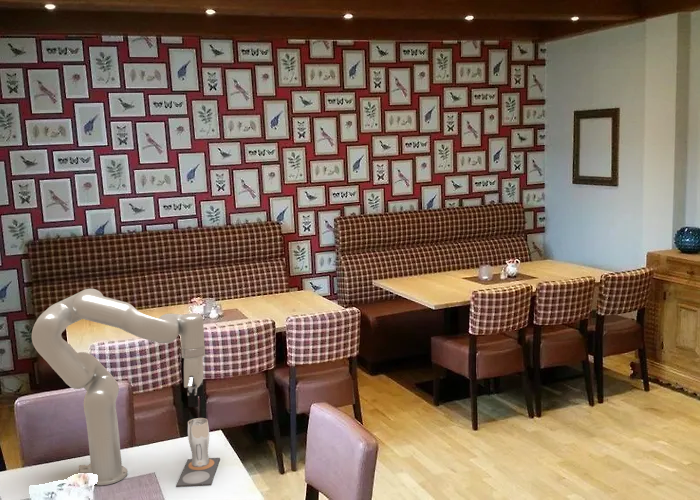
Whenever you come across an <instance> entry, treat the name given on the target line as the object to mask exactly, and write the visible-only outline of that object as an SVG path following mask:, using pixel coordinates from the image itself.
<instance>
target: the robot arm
mask: <svg viewBox="0 0 700 500" xmlns="http://www.w3.org/2000/svg"><path fill="white" fill-rule="evenodd" d="M82 320H85V321H89V322H93V323H97V324H101V325H105V326H109V327H113V328H117V329H120V330H123V332H126V333H128V334H131V335H133V336H136V337H138V338H141V339H143V340H144V339H145V340H147V341H151V342H156V343H159V344H169V343H172V342H174V341H175V340H176V339H177V338H178V337H180V348H181V350H180V351H181V358H182V359H183V387H184V388H185V389H187V407H188V408H198V407H199V397H204V384H203V383H204V382H203V381H204V361H203V357H205V356H206V348H205V347H206V346H205V330H204V329H205V327H204V317H203V316H202V315H201V314H200V313H197V312H196V313H193V312H192V313H185V314H178V313H165V314H162V315H161V316H160V317H158V318H157V317H154V316H151V315H147V314H144V312H141V311H139V310H138V309H136V307H134V306H133V305H132V304H131V303H129V302H126V301H123V300H119V299H114V298H111V297H107V296H104V295H103V293H102V292H101V291H100V290H98V289H95V288H85V289H83V290H81V291H79V292H77V293H75V294H73V295H71V296H69V297H66V298H64V299H62V300H60V301H58V302H56V303H54V304H52V305H50V306H49V307H47V309H46V310H44V311H43V312H42V313H41V314H39V316H38V317H37V319H36V321H35V323H34V325H33V327H32V331H31V341H32V345H33V348H35V350H36V352H37V353H38V355H40V356H41V357H42V358H43V360H45V362H47V364H48V365H49V366H50V367H51V369H52V370H54V372H55V373H56V374H57V375H58V376H59V378H61V379H62V380H63V382H64V383H65V384H66V385H67V386H69V387H70V388H71V389H74V390H81V389H84V390H85V395H84V399H83V411H84V416H85V422H86V431H87V439H88V449H89V450H88V451H89V460H90V463H89V464H79V465H78V472H79V473H84V474H87V473H93V474H97V475H98V482H97V485H96V486H107V485H112V484H115V483H118V482H120V481H122V480H124V479H125V478H126V477H127V476H128V469H127V468H126V467H125V466H123V464H122V454H121V444H120V443H121V442H120V441H121V440H120V431H119V423H118V414H117V406H116V402H117V398H118V395H119V392H120V387H119V384H118V383H119V382H117V380H116V379H115V378H114V376H113V375H112V374H111V373H110V372H109V371H108V370H107V368H105V366H104V365H103V364H102V363H101V361H100V360H98V359H97V358H96V356H94V355H93V354H91V353H88V352H83V351H81V352H77V351H76V350H75V349H74V348H73V346H72V345H71V344H70V343H69V342H67V341H66V340H65V339H64V338H63V336H62V333H63V332H65V330H66V329H67V328H68V327H69V326H71V325H72V324H75V323H77V322H78V321H82ZM179 335H180V336H179Z"/></svg>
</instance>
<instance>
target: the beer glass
mask: <svg viewBox="0 0 700 500" xmlns="http://www.w3.org/2000/svg"><path fill="white" fill-rule="evenodd" d="M187 437H188V438H187V439H188V443H189V447H190V451H191V459H192V463H191V465H192V467H194V468H203V467H206V466H208V465H209V464H210V460H209V458H210V457H209V443H210V428H209V420H208V419H207V418H204V417H198V418H192V419H189V420H188V421H187Z"/></svg>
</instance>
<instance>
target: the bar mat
mask: <svg viewBox="0 0 700 500" xmlns="http://www.w3.org/2000/svg"><path fill="white" fill-rule="evenodd" d="M209 460H210V464H209V465H208V466H206V467H203V468H194V467H192V465H191V463H192V458H187V459H186V463H185V465H184V467H183V469H182V471H181V472H180V475H179V478H178V480H177V482H176V484H175V487H176V488H182V487H201V486H202V487H204V486H212V483H213V481H214V478H215V475H216V472H217V470H218V467H219V463H220V461H221V457H209Z"/></svg>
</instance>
